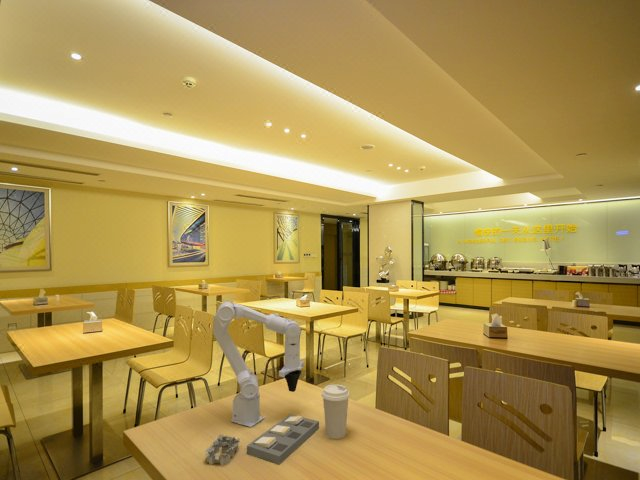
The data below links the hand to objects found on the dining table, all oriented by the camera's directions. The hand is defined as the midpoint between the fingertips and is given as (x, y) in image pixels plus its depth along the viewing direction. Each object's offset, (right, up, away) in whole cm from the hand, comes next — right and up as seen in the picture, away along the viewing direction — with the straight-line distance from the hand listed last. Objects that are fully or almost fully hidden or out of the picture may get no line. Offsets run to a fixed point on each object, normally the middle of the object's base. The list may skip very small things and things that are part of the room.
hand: (292, 390), depth 131 cm
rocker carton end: (-7, -6, -23) cm, 25 cm away
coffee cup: (+16, -9, -13) cm, 23 cm away
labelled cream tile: (+1, -7, -9) cm, 11 cm away
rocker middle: (-3, -6, -16) cm, 17 cm away
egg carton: (-19, -9, -25) cm, 33 cm away
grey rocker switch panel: (-1, -9, -17) cm, 19 cm away
